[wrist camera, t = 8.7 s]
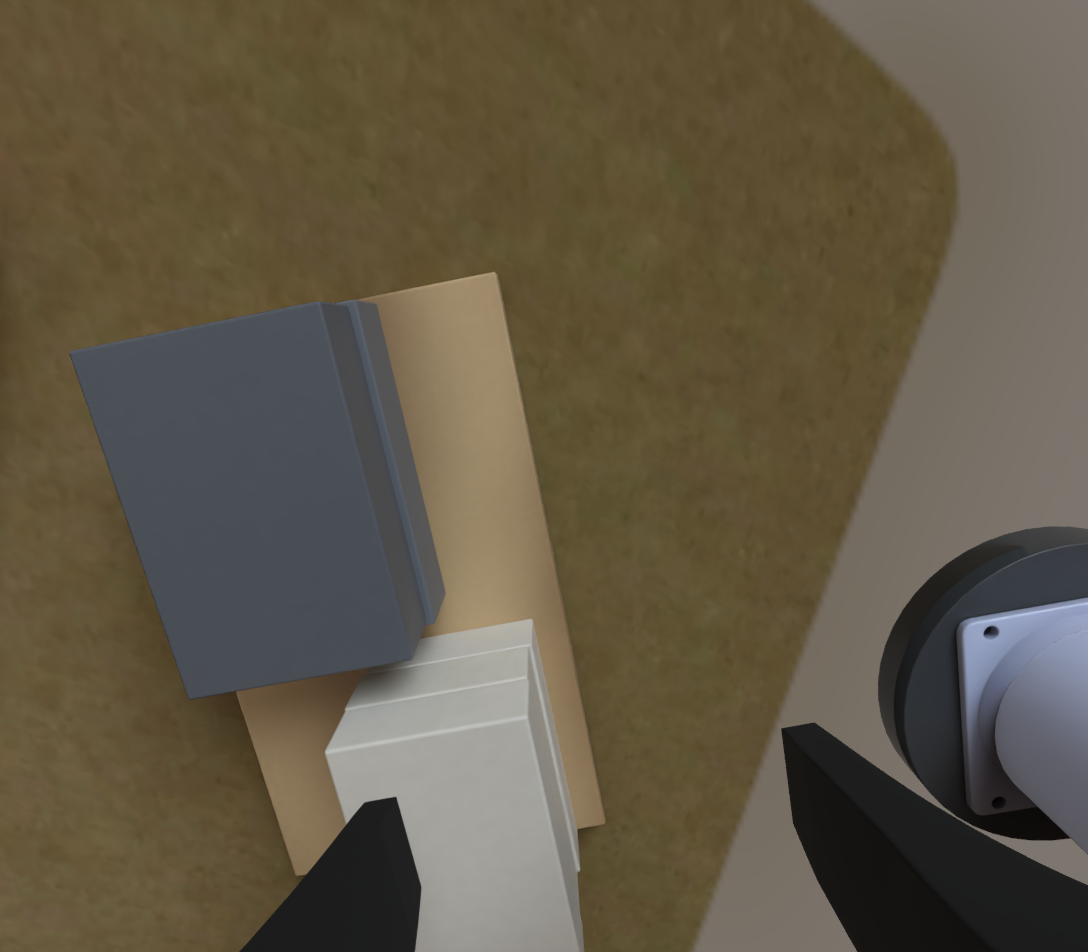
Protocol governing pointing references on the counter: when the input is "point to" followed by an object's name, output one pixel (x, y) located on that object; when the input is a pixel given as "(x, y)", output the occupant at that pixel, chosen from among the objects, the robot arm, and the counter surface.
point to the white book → (468, 815)
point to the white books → (471, 666)
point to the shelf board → (444, 549)
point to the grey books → (269, 493)
